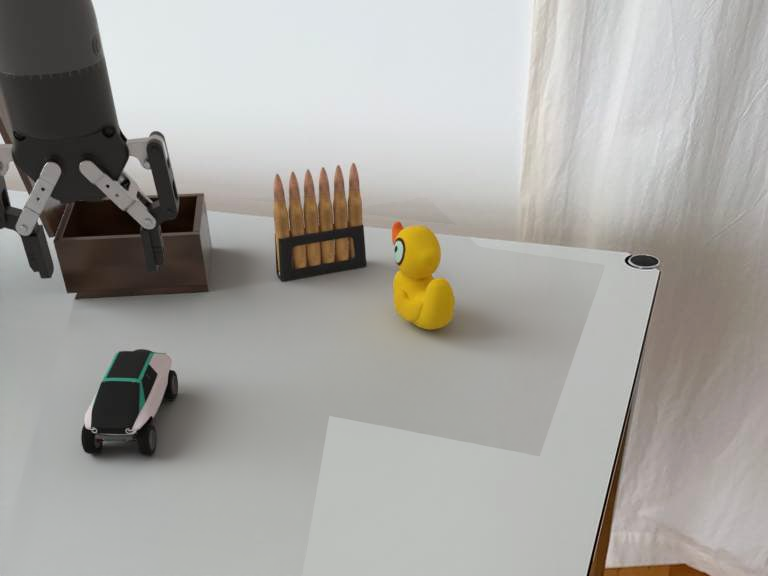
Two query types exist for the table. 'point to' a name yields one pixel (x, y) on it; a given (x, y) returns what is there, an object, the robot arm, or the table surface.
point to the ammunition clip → (318, 227)
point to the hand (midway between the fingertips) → (101, 271)
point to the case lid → (53, 207)
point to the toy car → (129, 401)
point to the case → (132, 250)
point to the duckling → (420, 278)
